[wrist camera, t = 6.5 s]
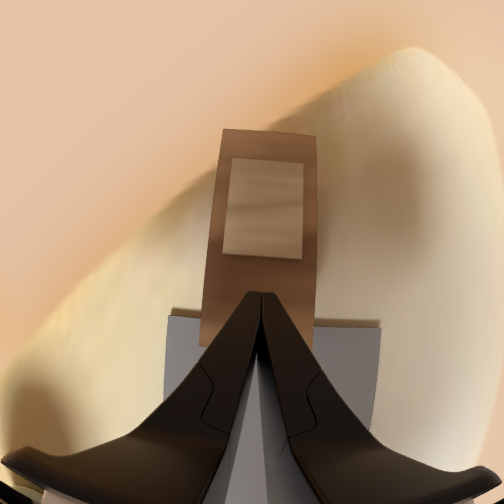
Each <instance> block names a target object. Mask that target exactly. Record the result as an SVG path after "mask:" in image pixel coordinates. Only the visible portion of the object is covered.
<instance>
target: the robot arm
mask: <svg viewBox="0 0 504 504" xmlns="http://www.w3.org/2000/svg"><path fill="white" fill-rule="evenodd" d="M256 355H257V374H258V387H259V400H260V413H261V426H262V438H263V451H264V463H265V476H266V489H267V501H268V504H474V500H473V499H474V498H476V497H478V496H480V495H482V494H484V493H486V492H488V491H489V490H491V489H493V488H495V487H497V486H498V485H500V484H501V483H502V481H501V479H500V478H499V476H498V475H497V474H496V473H494V472H493V471H491V470H490V469H488V468H486V467H484V466H476V467H473V468H470V469H467V470H465V471H461V472H447V471H442V470H439V469H436V468H433V467H431V466H428V465H426V464H423V463H421V462H418V461H416V460H414V459H411V458H409V457H406V456H404V455H402V454H400V453H397V452H395V451H393V450H391V449H389V448H387V447H385V446H384V445H383V444H381V443H380V442H379V441H378V440H377V439H376V438H375V437H374V436H373V435H372V434H371V433H370V432H369V430H368V429H367V428H366V427H365V426H364V424H363V423H362V422H361V421H360V420H359V418H358V417H357V416H356V415H355V414H354V412H353V411H352V410H351V409H350V408H349V406H348V405H347V404H346V403H345V401H344V400H343V399H342V397H341V396H340V395H339V394H338V392H337V391H336V389H335V388H334V386H333V385H332V383H331V382H330V380H329V379H328V377H327V375H326V374H325V372H324V371H323V370H322V368H321V366H320V364H319V363H318V361H317V359H316V358H315V356H314V355H313V353H312V351H311V350H310V348H309V347H308V345H307V343H306V342H305V340H304V339H303V337H302V335H301V334H300V332H299V330H298V329H297V327H296V326H295V324H294V322H293V321H292V319H291V318H290V316H289V314H288V313H287V311H286V309H285V308H284V306H283V305H282V303H281V301H280V300H279V298H278V297H277V295H276V294H275V293H274V292H262V293H261V292H260V291H247V292H246V294H245V295H244V297H243V298H242V299H241V301H240V302H239V304H238V305H237V307H236V308H235V309H234V311H233V312H232V314H231V315H230V316H229V318H228V319H227V321H226V322H225V323H224V325H223V326H222V328H221V329H220V330H219V332H218V333H217V335H216V336H215V337H214V339H213V340H212V342H211V343H210V344H209V346H208V347H207V349H206V350H205V351H204V353H203V354H202V355H201V357H200V358H199V360H198V362H197V363H196V364H195V365H194V366H193V368H192V369H191V370H190V372H189V373H188V374H187V376H186V377H185V378H184V379H183V381H182V382H181V383H180V384H179V385H178V387H177V388H176V389H175V390H174V391H173V392H172V393H171V394H170V395H169V396H168V397H167V398H166V399H165V400H164V401H163V402H162V403H161V404H160V405H159V406H158V407H157V408H156V409H155V410H154V411H153V412H152V413H151V414H150V415H149V416H148V417H147V418H146V419H145V420H144V421H143V422H142V423H141V424H140V425H139V426H138V427H137V428H135V429H134V430H133V431H131V432H130V433H128V434H126V435H124V436H122V437H120V438H117V439H115V440H112V441H109V442H107V443H104V444H101V445H98V446H96V447H93V448H90V449H87V450H84V451H81V452H78V453H75V454H71V455H67V456H54V455H49V454H46V453H44V452H42V451H39V450H37V449H35V448H33V447H30V446H27V445H22V446H19V447H17V448H15V449H13V450H11V451H10V452H8V453H7V454H6V455H5V456H4V457H3V458H2V459H1V463H2V464H3V465H5V466H6V467H7V468H9V469H10V470H12V471H13V472H15V473H17V474H18V475H20V476H21V477H23V478H25V479H26V480H28V481H30V482H31V483H33V484H35V485H36V486H38V487H40V488H42V489H44V493H43V496H42V500H41V504H225V501H226V496H227V492H228V488H229V483H230V479H231V475H232V470H233V466H234V461H235V457H236V453H237V448H238V444H239V439H240V434H241V430H242V425H243V421H244V416H245V411H246V407H247V402H248V397H249V392H250V387H251V383H252V378H253V373H254V368H255V362H256ZM0 504H40V503H39V502H37V501H35V500H33V499H32V498H30V497H28V496H26V495H24V494H22V493H21V492H19V491H17V490H15V489H14V488H12V487H10V486H9V485H7V484H5V483H4V482H2V481H0ZM494 504H504V499H502V500H500V501H498V502H496V503H494Z"/></svg>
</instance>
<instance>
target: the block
mask: <svg viewBox="0 0 504 504" xmlns="http://www.w3.org/2000/svg"><path fill="white" fill-rule="evenodd" d="M316 259H317V165H316V136H309V135H300V134H290V133H279V132H267V131H253V130H235V129H223V134H222V140H221V147H220V154H219V161H218V168H217V175H216V183H215V191H214V198H213V206H212V214H211V223H210V231H209V240H208V249H207V258H206V268H205V278H204V288H203V299H202V310H201V321H200V333H199V346H200V347H208V346H209V344H210V343H211V342H212V340H213V339H214V337H215V336H216V335H217V333H218V332H219V330H220V329H221V328H222V326H223V325H224V323H225V322H226V321H227V319H228V318H229V316H230V315H231V314H232V312H233V311H234V309H235V308H236V307H237V305H238V304H239V302H240V301H241V299H242V298H243V297H244V295H245V294H246V292H247V291H260V292H261V293H262V292H274V293H275V294H276V295H277V297H278V298H279V300H280V301H281V303H282V305H283V306H284V308H285V309H286V311H287V313H288V314H289V316H290V318H291V319H292V321H293V322H294V324H295V326H296V327H297V329H298V330H299V332H300V334H301V335H302V337H303V339H304V340H305V342H306V343H307V345H308V347H309V348H310V350H311V351H312V348H313V332H314V314H315V291H316Z"/></svg>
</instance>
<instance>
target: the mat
mask: <svg viewBox="0 0 504 504" xmlns="http://www.w3.org/2000/svg"><path fill="white" fill-rule="evenodd" d="M200 321H201V319H200V318H190V317H181V316H172V315H168V325H167V339H166V354H165V373H164V398H163V401H164V400H165V399H166V398H167V397H168V396H169V395H170V394H171V393H172V392H173V391H174V390H175V389H176V388H177V387H178V385H179V384H180V383H181V382H182V381H183V379H184V378H185V377H186V376H187V374H188V373H189V372H190V370H191V369H192V368H193V366H194V365H195V364H196V363H197V362H198V360H199V358H200V357H201V355H202V354H203V353H204V351H205V350H206V349H207V347H200V346H199V333H200ZM380 336H381V328H349V327H315V326H314V332H313V348H312V353H313V355H314V356H315V358H316V359H317V361H318V363H319V364H320V366H321V368H322V370H323V371H324V372H325V374H326V375H327V377H328V379H329V380H330V382H331V383H332V385H333V386H334V388H335V389H336V391H337V392H338V394H339V395H340V396H341V397H342V399H343V400H344V401H345V403H346V404H347V405H348V406H349V408H350V409H351V410H352V411H353V412H354V414H355V415H356V416H357V417H358V418H359V420H360V421H361V422H362V423H363V424H364V426H365V427H366V428H367V429H368V430H370V424H371V418H372V411H373V404H374V397H375V389H376V381H377V371H378V361H379V350H380ZM225 504H268V501H267V489H266V476H265V463H264V451H263V438H262V426H261V413H260V400H259V387H258V374H257V355H256V362H255V368H254V373H253V378H252V383H251V387H250V392H249V397H248V402H247V407H246V411H245V416H244V421H243V425H242V430H241V434H240V439H239V444H238V448H237V453H236V457H235V461H234V466H233V470H232V475H231V479H230V483H229V488H228V492H227V496H226V501H225Z"/></svg>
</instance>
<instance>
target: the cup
mask: <svg viewBox="0 0 504 504" xmlns="http://www.w3.org/2000/svg"><path fill="white" fill-rule="evenodd" d="M10 487H12V488H14V489H15V490H17V491H19V492H21V493H22V494H24V495H26V496H28V497H30V498H32V499H33V500H35V501H37V502H39V503H40V504H41V500H42V496H43V495H42V494H41V493H39V492H37V491H35V490H33V489H30V488H28V487H22V486H10Z"/></svg>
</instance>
